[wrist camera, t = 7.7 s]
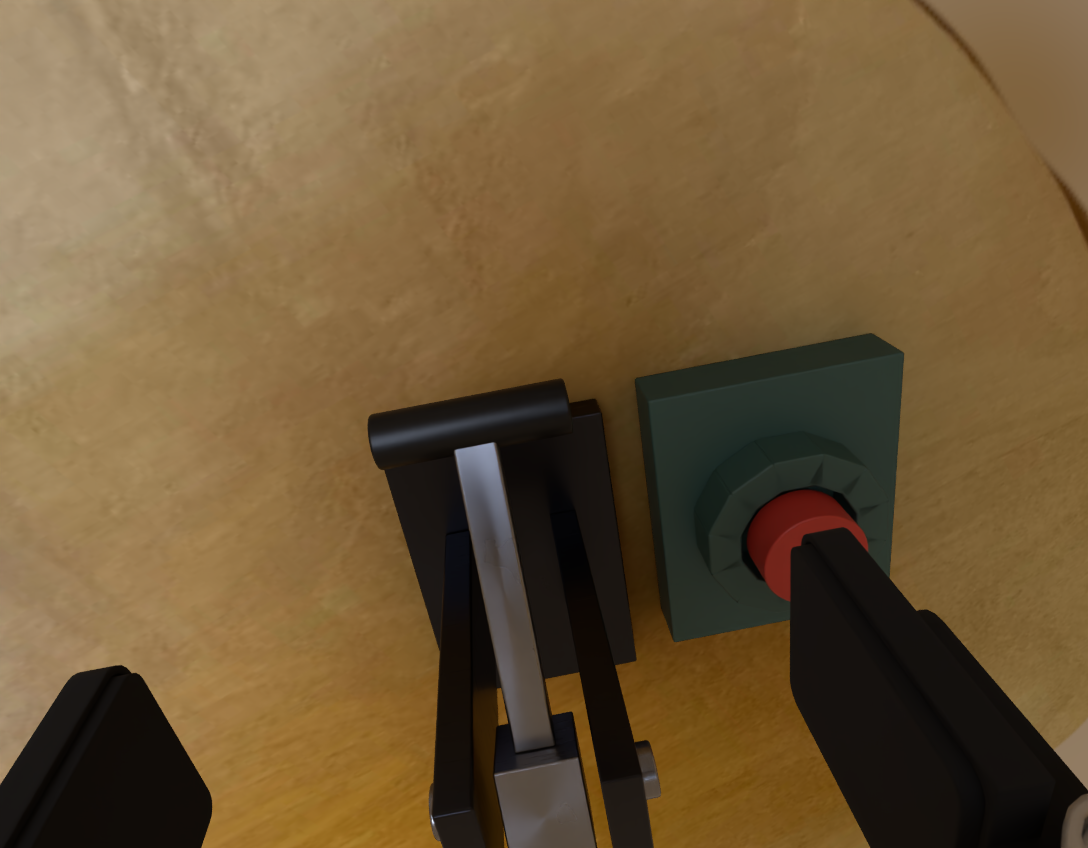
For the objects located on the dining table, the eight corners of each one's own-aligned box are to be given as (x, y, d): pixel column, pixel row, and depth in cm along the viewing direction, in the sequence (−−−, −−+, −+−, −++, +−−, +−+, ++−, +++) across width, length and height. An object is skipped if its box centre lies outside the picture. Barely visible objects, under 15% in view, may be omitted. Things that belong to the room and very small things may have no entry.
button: (743, 499, 25) (762, 527, 23) (845, 479, 25) (871, 506, 23) (747, 581, 26) (765, 613, 25) (843, 562, 26) (867, 593, 25)
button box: (633, 377, 26) (660, 424, 22) (872, 332, 26) (936, 371, 23) (660, 607, 31) (686, 676, 27) (861, 568, 31) (913, 631, 27)
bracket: (382, 438, 26) (316, 714, 15) (596, 397, 26) (694, 640, 15) (453, 674, 31) (445, 1015, 20) (630, 640, 32) (723, 958, 20)
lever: (378, 411, 19) (358, 418, 17) (560, 377, 19) (565, 378, 17) (466, 827, 20) (459, 889, 18) (638, 792, 20) (653, 850, 18)
